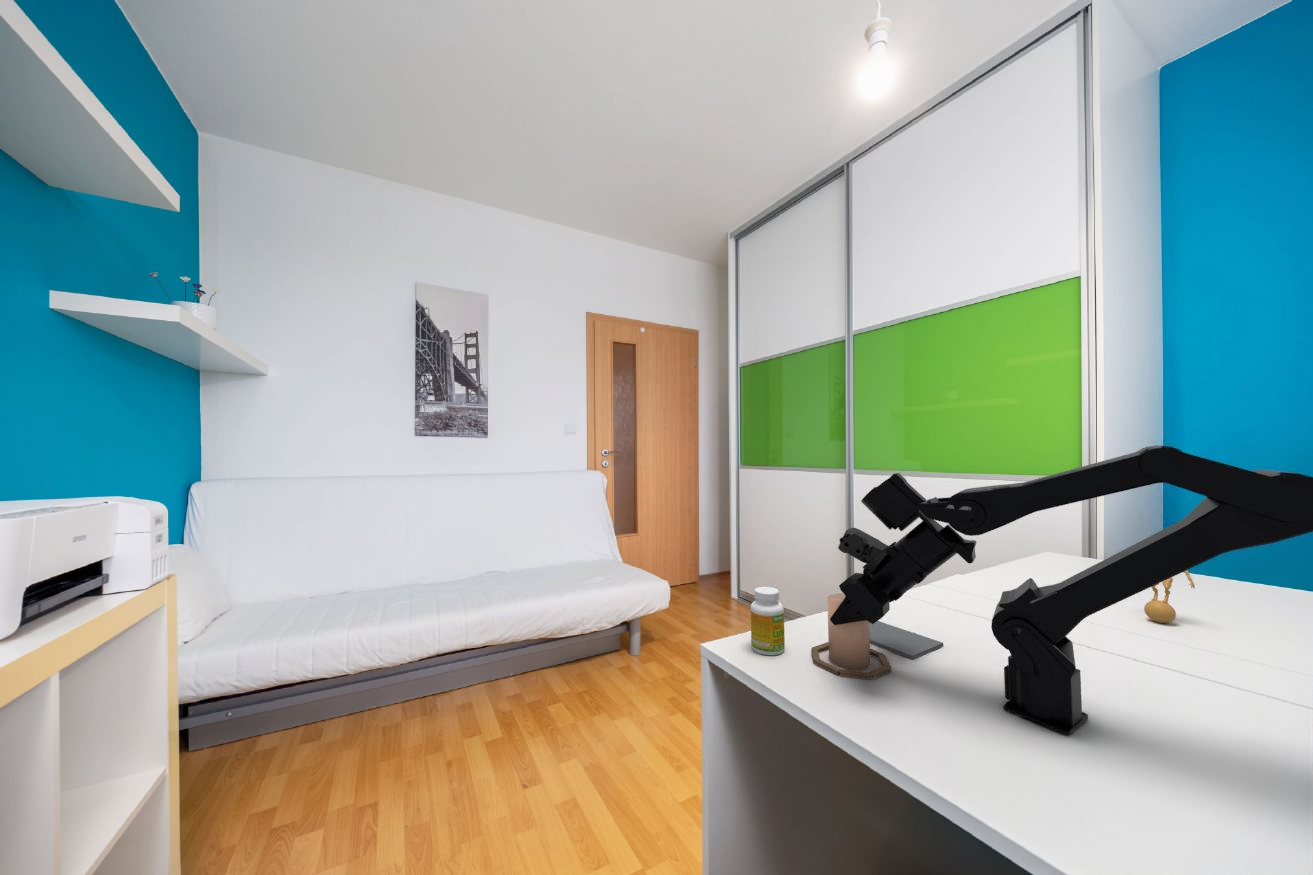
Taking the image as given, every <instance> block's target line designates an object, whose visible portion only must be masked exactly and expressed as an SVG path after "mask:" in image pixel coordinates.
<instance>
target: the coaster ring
mask: <svg viewBox="0 0 1313 875" xmlns="http://www.w3.org/2000/svg"><path fill="white" fill-rule="evenodd" d="M826 651H829V641H827V642H824V643H821V644H819V645H816V646H813V647H811V649H810V652H811V658H812V662H813V663H812V664H813V665H815V666H816V667H819V668H821V669H823V670H825V671H827V672H829V673H831V674H833V675H835V676H837V677H839V676H840V677H841V678H851V679H852V678H853V679H860V680H861V679H863V680H876V679H878V678H880V677H882V676H884V675H887V674H889V673H891V672H892V665H891V663H890V661H889V659H888V657H887V656H886V655H885V654H884V653H883V652H880V651H878V650H875V649H872V648H870V657H874V658H877V659H878V661H879V662H880V664H881V666H879V667H877V668H874V669H871V670H869V671H864V670H849V669H844V668H842V669H841V668H840V667H838V666H836V665H834V664H833V665H832V663H831V664H830V663H829V662H827V661H824V660H822V659H821V658H820V657H821V656H820V653H823V652H826Z"/></svg>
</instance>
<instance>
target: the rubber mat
mask: <svg viewBox="0 0 1313 875" xmlns="http://www.w3.org/2000/svg"><path fill="white" fill-rule="evenodd" d="M870 645H873V646H876V647H878V648H881V649H883V650H885V651H889V652H892V653H894V654H896V655H898V656H899V655H900V656H902V657H905V658H907V659H909V660H915V659H918V658H920V657H923V656H924V655H927V654H929V653H931V652H934V651H936V650H939V649H941V648H943V647H944V642H942V641H938V640H936V639H933V638H930V637H927V636H924V635H921V634H918V633H916V632H912V631H909V630H907V629H904V628H900V627H898V626H894V625H892V624H889V623H885V622H883V621H880V620H878V621H877V622H875V623H874V624H872V623H870Z"/></svg>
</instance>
